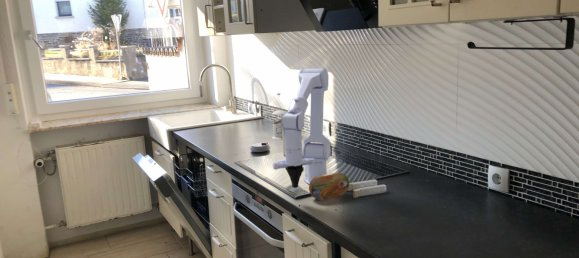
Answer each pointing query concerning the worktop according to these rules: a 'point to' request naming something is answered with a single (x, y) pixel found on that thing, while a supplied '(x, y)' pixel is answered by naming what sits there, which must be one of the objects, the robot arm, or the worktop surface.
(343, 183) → the tin
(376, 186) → the door track
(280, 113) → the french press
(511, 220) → the worktop surface
